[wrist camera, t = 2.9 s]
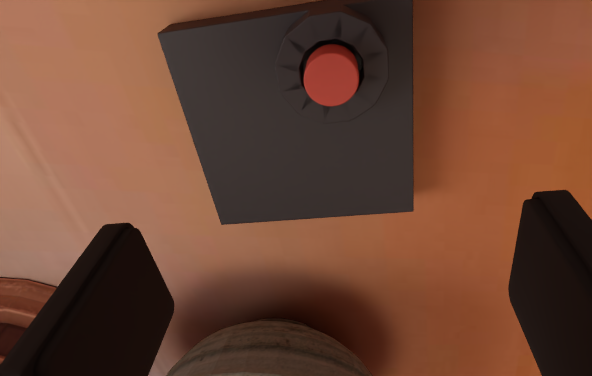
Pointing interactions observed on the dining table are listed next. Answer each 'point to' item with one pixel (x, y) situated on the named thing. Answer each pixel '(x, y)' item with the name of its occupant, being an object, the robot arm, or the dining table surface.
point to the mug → (19, 309)
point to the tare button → (331, 75)
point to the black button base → (298, 110)
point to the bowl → (269, 352)
